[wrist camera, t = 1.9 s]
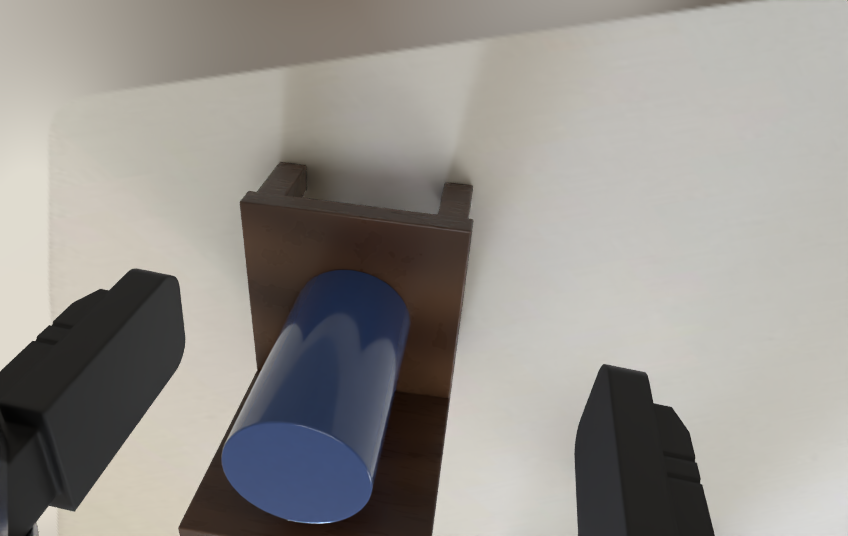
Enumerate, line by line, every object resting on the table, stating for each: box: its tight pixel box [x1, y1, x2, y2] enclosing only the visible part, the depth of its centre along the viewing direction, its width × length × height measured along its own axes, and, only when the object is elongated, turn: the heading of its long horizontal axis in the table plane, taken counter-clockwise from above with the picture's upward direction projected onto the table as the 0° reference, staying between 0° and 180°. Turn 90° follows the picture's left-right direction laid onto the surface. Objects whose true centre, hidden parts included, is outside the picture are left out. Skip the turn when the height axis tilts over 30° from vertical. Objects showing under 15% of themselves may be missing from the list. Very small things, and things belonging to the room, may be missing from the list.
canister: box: [221, 270, 410, 524], centre depth 29 cm, size 6×6×10 cm
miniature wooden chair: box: [178, 162, 473, 536], centre depth 31 cm, size 12×11×15 cm
